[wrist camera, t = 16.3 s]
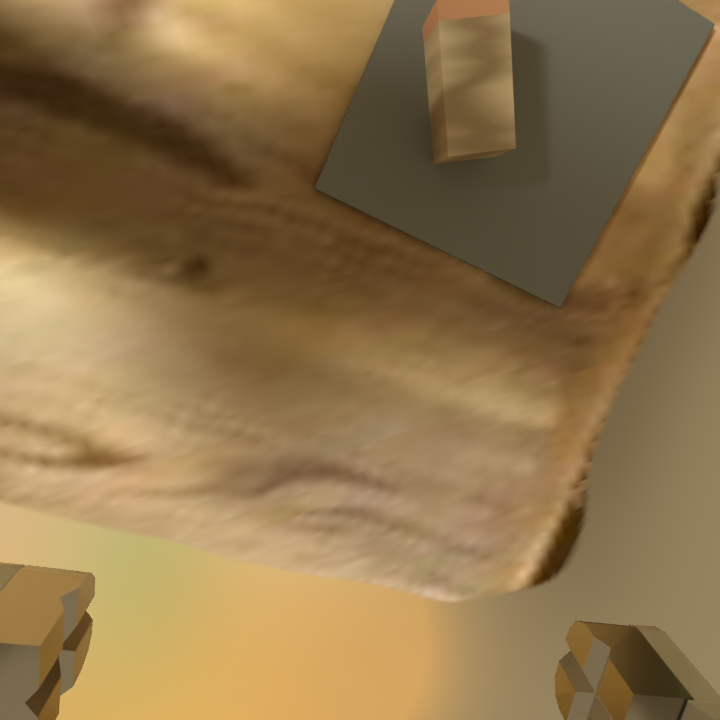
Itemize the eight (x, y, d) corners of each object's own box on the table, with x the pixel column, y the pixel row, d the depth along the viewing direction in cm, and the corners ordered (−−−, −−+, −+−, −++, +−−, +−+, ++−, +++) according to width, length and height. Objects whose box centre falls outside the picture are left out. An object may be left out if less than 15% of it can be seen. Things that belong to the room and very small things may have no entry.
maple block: (448, 156, 31) (436, 0, 29) (433, 164, 35) (422, 26, 33) (515, 148, 31) (508, -8, 29) (493, 156, 35) (486, 19, 33)
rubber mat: (314, 188, 35) (314, 187, 34) (453, -136, 31) (455, -142, 31) (557, 306, 38) (560, 307, 38) (709, 26, 34) (714, 24, 34)
